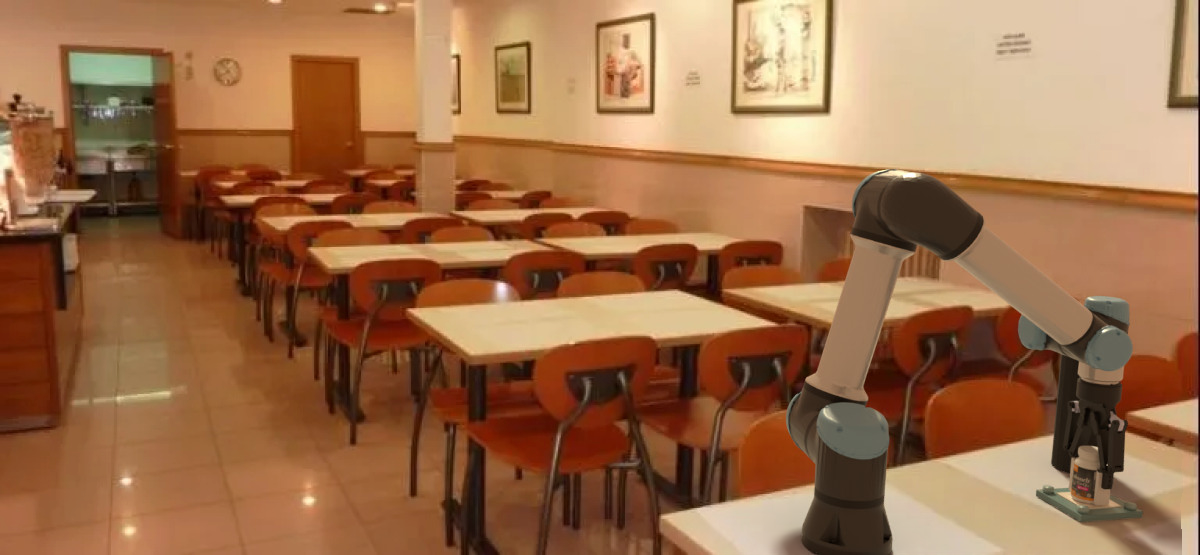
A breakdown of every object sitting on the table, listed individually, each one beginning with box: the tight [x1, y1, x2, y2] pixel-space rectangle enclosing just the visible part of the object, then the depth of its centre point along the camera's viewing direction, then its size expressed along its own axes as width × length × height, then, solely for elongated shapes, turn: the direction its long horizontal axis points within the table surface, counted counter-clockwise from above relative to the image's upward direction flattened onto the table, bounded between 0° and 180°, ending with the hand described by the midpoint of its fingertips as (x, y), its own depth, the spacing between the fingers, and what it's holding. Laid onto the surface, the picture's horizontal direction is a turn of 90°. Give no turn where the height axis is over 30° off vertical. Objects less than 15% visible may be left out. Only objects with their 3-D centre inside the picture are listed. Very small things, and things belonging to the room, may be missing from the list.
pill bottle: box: [1071, 446, 1100, 504], centre depth 186 cm, size 6×6×10 cm
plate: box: [1035, 484, 1144, 523], centre depth 187 cm, size 13×13×2 cm
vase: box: [1050, 354, 1107, 474], centre depth 207 cm, size 10×10×30 cm
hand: (1088, 496), depth 187 cm, fingers open, 6 cm apart
